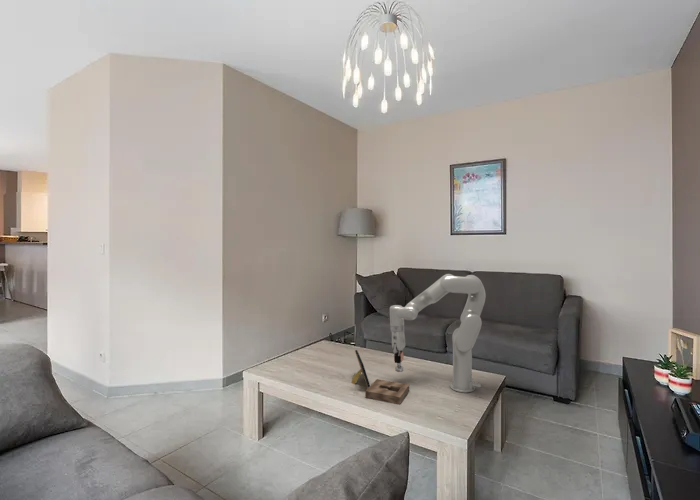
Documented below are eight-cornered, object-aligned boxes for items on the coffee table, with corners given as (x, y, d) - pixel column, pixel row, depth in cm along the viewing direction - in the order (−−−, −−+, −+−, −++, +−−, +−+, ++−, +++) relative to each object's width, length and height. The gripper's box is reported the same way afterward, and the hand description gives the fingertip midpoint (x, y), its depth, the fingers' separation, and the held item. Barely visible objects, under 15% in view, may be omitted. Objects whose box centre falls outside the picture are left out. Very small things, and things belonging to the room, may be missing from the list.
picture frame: (371, 391, 183) (368, 363, 182) (354, 394, 182) (351, 366, 181) (364, 374, 206) (361, 349, 205) (349, 376, 205) (346, 351, 204)
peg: (404, 369, 193) (403, 351, 193) (402, 372, 189) (401, 353, 189) (396, 368, 195) (395, 350, 195) (394, 371, 191) (393, 353, 191)
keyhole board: (409, 391, 182) (409, 384, 182) (400, 404, 168) (399, 397, 168) (376, 385, 190) (376, 379, 190) (365, 397, 176) (365, 390, 176)
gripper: (399, 332, 182) (401, 367, 183) (408, 324, 197) (409, 357, 198) (385, 331, 185) (387, 366, 186) (395, 324, 200) (397, 355, 201)
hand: (399, 361), depth 192 cm, fingers closed on peg, 4 cm apart
